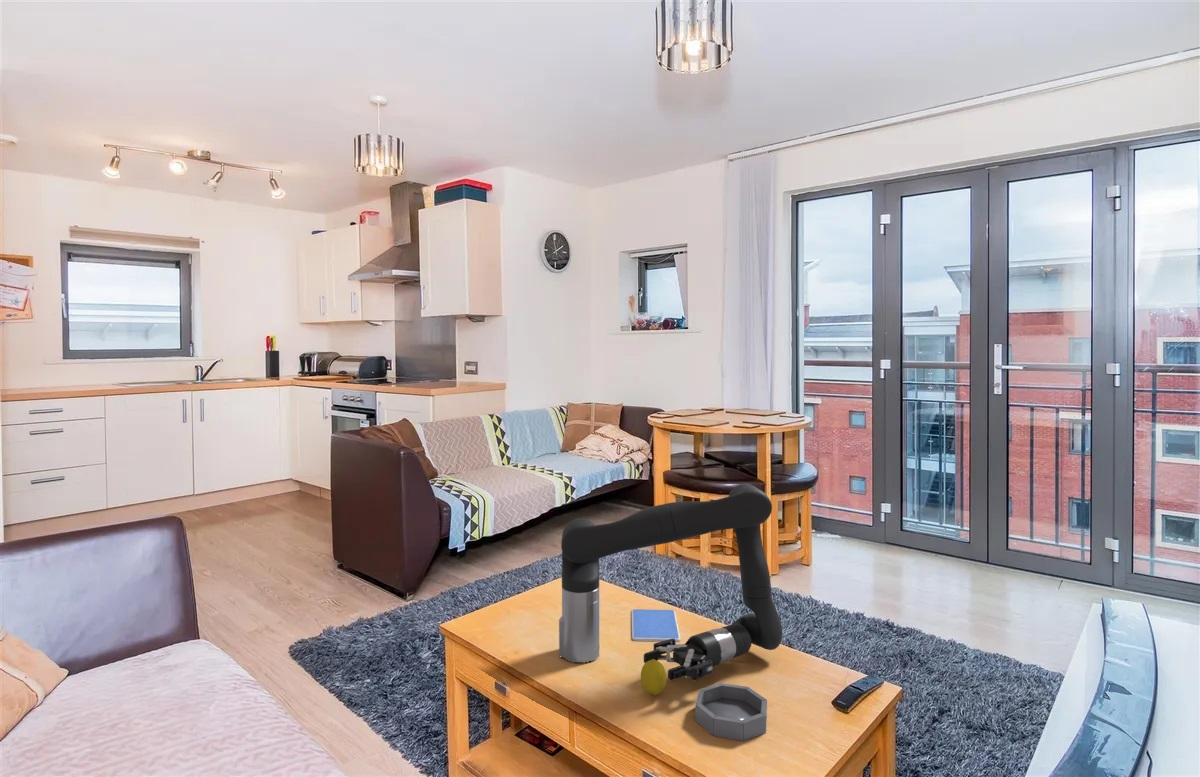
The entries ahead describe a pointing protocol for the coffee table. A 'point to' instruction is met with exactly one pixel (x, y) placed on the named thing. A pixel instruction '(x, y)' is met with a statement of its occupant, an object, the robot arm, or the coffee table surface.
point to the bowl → (731, 711)
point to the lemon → (653, 677)
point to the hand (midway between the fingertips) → (656, 667)
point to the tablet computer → (654, 625)
